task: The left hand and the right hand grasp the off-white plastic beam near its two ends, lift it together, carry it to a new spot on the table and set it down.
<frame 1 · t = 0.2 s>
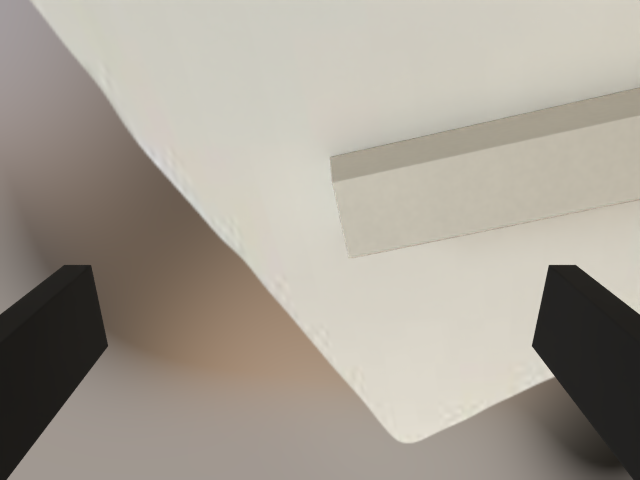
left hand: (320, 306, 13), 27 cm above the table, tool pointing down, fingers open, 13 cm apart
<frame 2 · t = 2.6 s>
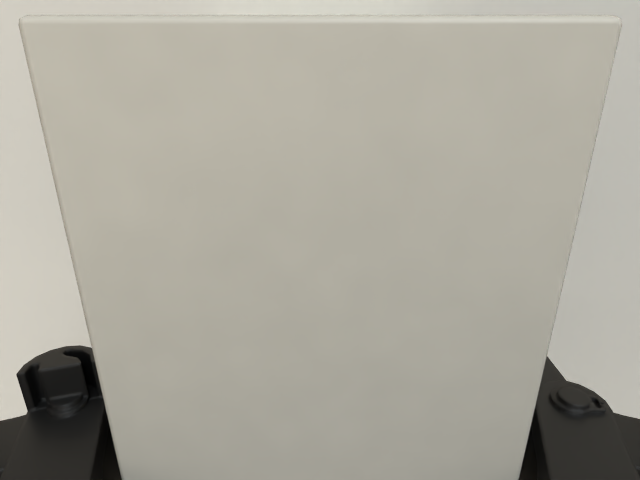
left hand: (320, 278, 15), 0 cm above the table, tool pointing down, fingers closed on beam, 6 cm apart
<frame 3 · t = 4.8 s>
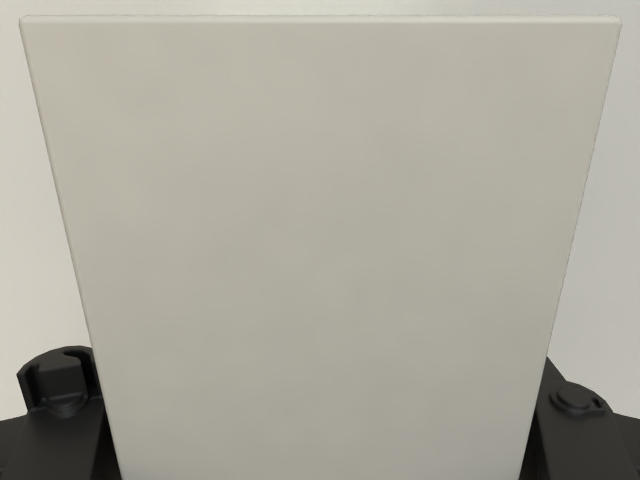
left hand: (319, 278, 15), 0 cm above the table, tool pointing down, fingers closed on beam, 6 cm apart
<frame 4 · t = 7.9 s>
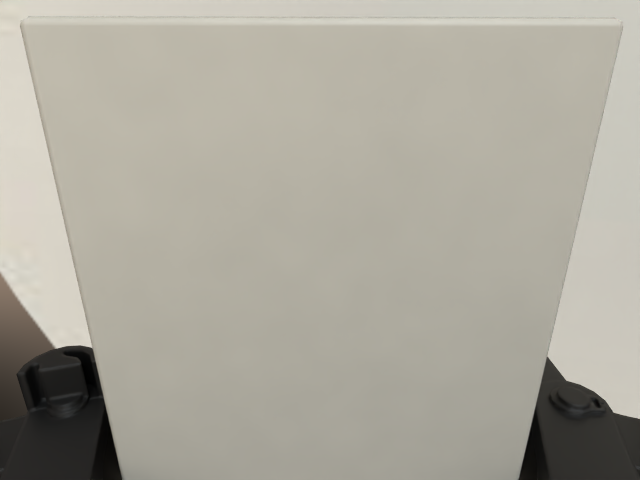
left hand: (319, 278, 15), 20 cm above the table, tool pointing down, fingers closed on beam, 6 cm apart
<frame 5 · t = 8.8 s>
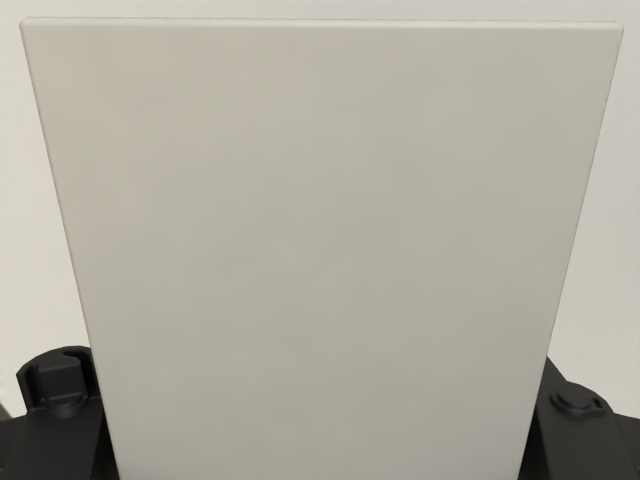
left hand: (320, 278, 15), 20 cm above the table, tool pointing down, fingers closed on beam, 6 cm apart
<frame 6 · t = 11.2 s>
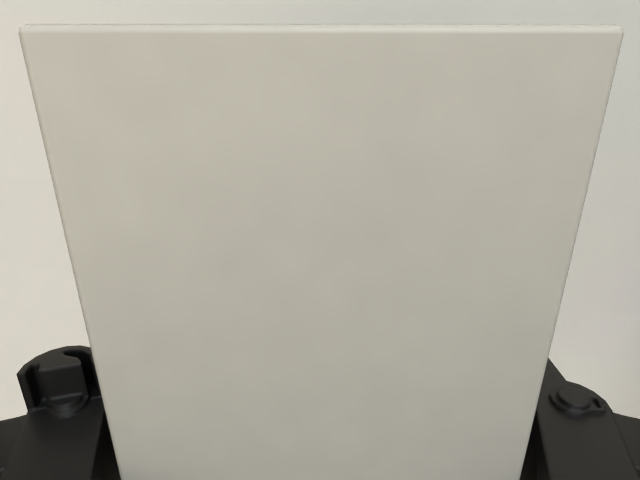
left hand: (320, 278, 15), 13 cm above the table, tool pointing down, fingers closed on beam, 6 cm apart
when the left hand's fingers open (2 cm above the table, at t = 13.1 s): beam drops 1 cm, on the table.
when the right hand's fingers open (2 cm above the table, at t = 13.1 s): beam drops 1 cm, on the table.
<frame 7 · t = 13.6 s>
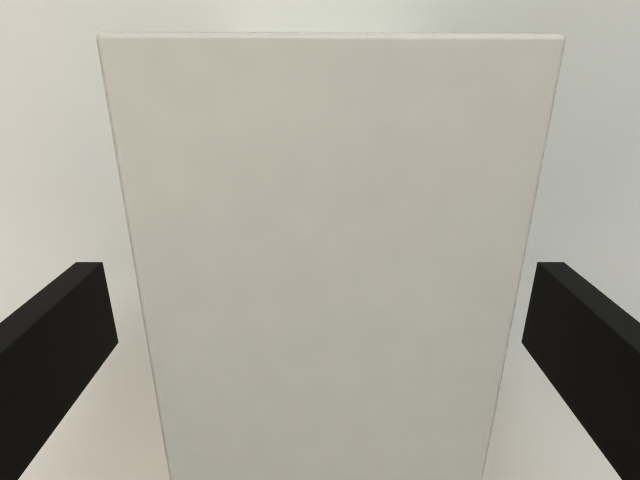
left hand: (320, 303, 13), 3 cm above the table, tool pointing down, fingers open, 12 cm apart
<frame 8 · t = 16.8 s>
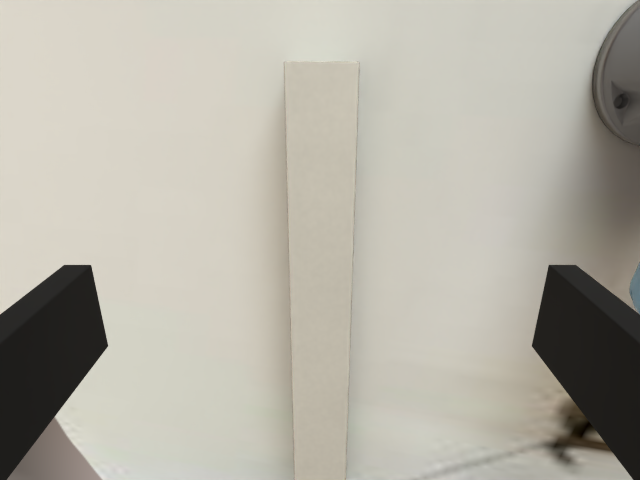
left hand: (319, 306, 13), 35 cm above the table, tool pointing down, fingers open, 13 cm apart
beam: (320, 308, 53), on the table
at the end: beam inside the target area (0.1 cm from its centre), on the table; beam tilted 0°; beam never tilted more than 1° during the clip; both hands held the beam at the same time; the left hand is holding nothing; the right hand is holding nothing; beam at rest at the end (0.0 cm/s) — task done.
